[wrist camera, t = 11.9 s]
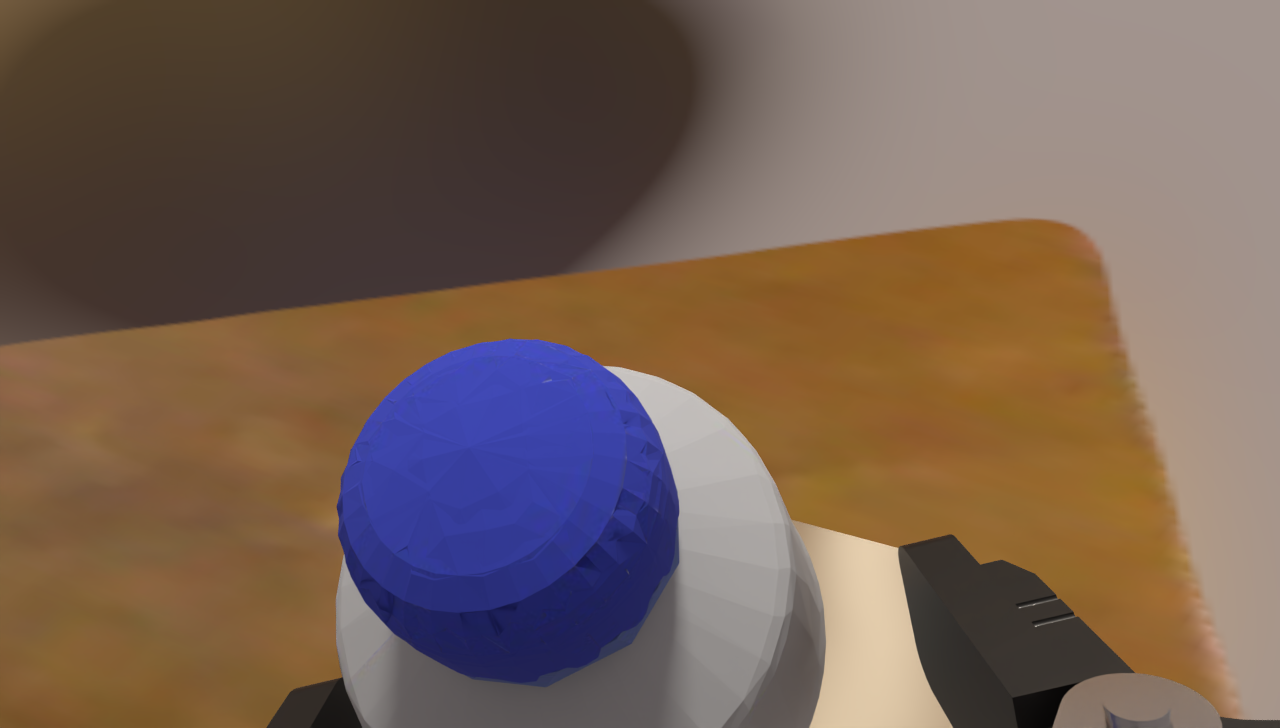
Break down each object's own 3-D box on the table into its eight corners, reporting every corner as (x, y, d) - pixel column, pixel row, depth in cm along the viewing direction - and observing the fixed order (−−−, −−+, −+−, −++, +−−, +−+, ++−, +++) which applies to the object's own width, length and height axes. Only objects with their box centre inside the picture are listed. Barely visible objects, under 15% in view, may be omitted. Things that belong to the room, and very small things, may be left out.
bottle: (831, 650, 25) (877, 192, 8) (799, 909, 22) (769, 1009, 5) (618, 606, 27) (302, 157, 10) (560, 841, 24) (-40, 750, 7)
